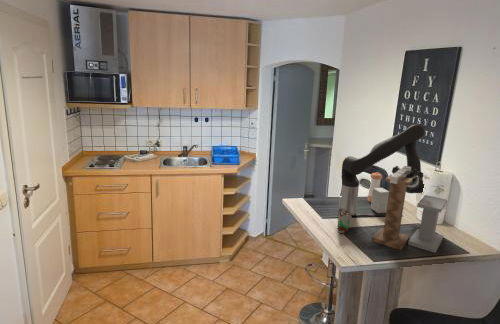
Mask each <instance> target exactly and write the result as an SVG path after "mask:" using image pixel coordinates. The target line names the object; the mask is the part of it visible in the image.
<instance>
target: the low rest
mask: <svg viewBox="0 0 500 324" xmlns="http://www.w3.org/2000/svg"><path fill="white" fill-rule="evenodd" d="M447 203H448V199H447V198H446V199H445V198H441V197H435V196H432V195H427V194H425V195H423V196H422V198H421V199H420V200H419V201H418V203H416V204H417V205H416V207H417V208H420V209H422V214H421V220H420V224H419V225H420V227H418V228H416V230H415V231H414V233H413V234H412V236H411V237H409V240H408V242H407V243H408V246H411V247H415V248H418V249H422V250H425V251H428V252H432V253H435V254H436V253H437V251H438V249H439V247H440V245H441V243H442V242H443V240H444V239H443V238H444V235H443V234H440V233H436V230H437V225H438V224H437V223H438V220H439V214H440V213H441V212H442V211H443V210H444V208H445V207H446V205H447Z"/></svg>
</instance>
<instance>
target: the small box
mask: <svg viewBox="0 0 500 324" xmlns="http://www.w3.org/2000/svg"><path fill="white" fill-rule="evenodd" d="M388 196H389V190H387V189H385V188H384V187H380V188H373V193H372V201H371V202H370V209H371V210H373V211H374V212H376V213H377V214H384V213H385V214H386V210H387V203H388Z"/></svg>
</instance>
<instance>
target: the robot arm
mask: <svg viewBox="0 0 500 324" xmlns="http://www.w3.org/2000/svg"><path fill="white" fill-rule="evenodd" d="M424 135H425V128H424V127H423V126H422V125H420V124H411V125H410V126H408V127H406V128H405V129H404V130H403V131H402V132H400V133H398V134H396V135H393V136H391V137H388V138H386V139H385V140H383V141H380V142H378V143H377V144H375V145H374V146H373V147H372V148H371V149H370V151H369V153H368V154H366V155H364V156H363V157H359V158H357V157H355V156H352V155H351V156H347V157H345V158H344V160H343V161H342V164H341V181H342V182H341V194H340V195H339V201H338V210H337V212H338V213H339V208H343V209H346V210H348V211H350V212H351V216H354V215H356V213H357V205H358V196H359V190H360V189H359V188H360V180H359V179H358V177H357V176H358V175H361V174H362V173H363V172H365V171H366V170H368V169H369V168H370V167H373V166H374V165H375V164H377V163H379V162H381V161H382V160H385V159H387V158H389V157H390V156H392V155H394V154H395V153H397V152H398V151H400V150H401V149H403V148H404V149H405V156H406V166H409V167H411V172H410V173H409V174H408V175H407V176H406V177H407V178H412V179H413V181H412V183H410V184H409V185H408V186H407V187H406V194H423V193H424V192H423V188H424V185H425V183H424V184H423V182H424V176H425V175H424V172H423V171H422V167H421V160H420V157H419V155H418V152H417V147H416V146H417V141H419V140H421V139H422V138H423V137H424ZM400 169H401V168H400V167H399V165H395V166H394V167H392V169H391V173H392V175H393V174H394V173H396V172H397V171H399V170H400ZM422 192H423V193H422Z"/></svg>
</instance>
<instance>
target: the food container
mask: <svg viewBox="0 0 500 324" xmlns="http://www.w3.org/2000/svg"><path fill="white" fill-rule="evenodd" d="M338 208H339V207H338ZM352 216H353V215H351V212H350V211H348V210H346V209H343V208H339V212H338V217H337V234H338V233H340V234H339V235H345V234H347V233H348V232H349V226H350V222H351V219H352V218H353V217H352Z"/></svg>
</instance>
